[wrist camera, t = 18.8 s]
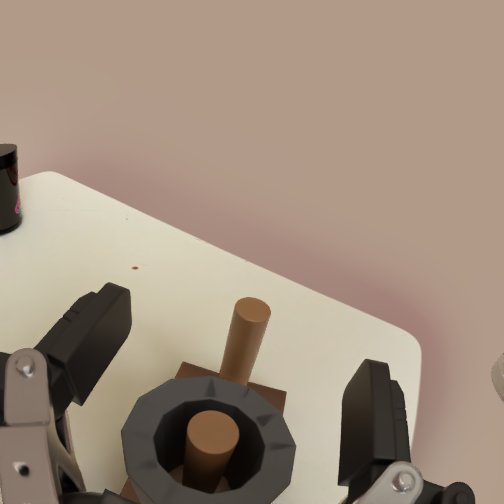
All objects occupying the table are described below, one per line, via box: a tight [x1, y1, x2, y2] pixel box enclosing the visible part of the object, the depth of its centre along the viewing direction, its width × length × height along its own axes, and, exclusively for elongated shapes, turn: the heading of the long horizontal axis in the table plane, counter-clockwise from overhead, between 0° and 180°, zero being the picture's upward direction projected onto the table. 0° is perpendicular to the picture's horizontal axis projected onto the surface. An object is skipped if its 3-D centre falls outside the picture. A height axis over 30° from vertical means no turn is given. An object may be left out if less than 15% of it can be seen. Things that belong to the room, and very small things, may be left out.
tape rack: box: [120, 297, 287, 504], centre depth 15 cm, size 12×8×10 cm, turn 168°
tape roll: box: [121, 376, 296, 504], centre depth 12 cm, size 6×6×8 cm
